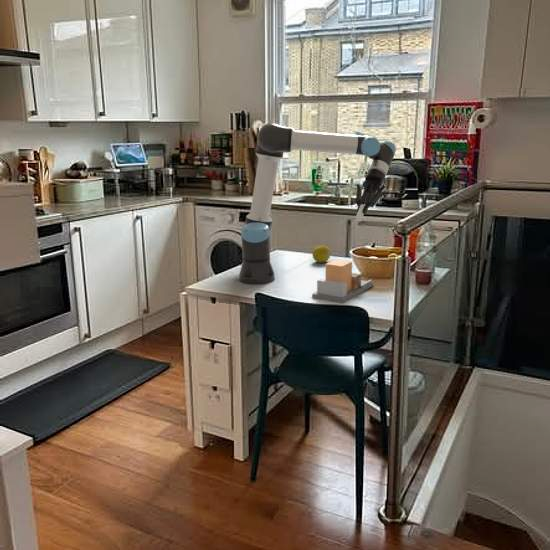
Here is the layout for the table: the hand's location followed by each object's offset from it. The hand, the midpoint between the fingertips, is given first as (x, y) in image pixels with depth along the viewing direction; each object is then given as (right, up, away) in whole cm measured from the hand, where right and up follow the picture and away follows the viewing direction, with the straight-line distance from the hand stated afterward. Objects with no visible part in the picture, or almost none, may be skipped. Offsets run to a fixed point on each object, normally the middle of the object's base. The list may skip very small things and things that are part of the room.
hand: (358, 219), depth 222 cm
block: (-9, -28, -10) cm, 31 cm away
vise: (-7, -29, -6) cm, 30 cm away
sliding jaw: (-5, -27, -5) cm, 28 cm away
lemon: (-11, -17, +39) cm, 44 cm away
